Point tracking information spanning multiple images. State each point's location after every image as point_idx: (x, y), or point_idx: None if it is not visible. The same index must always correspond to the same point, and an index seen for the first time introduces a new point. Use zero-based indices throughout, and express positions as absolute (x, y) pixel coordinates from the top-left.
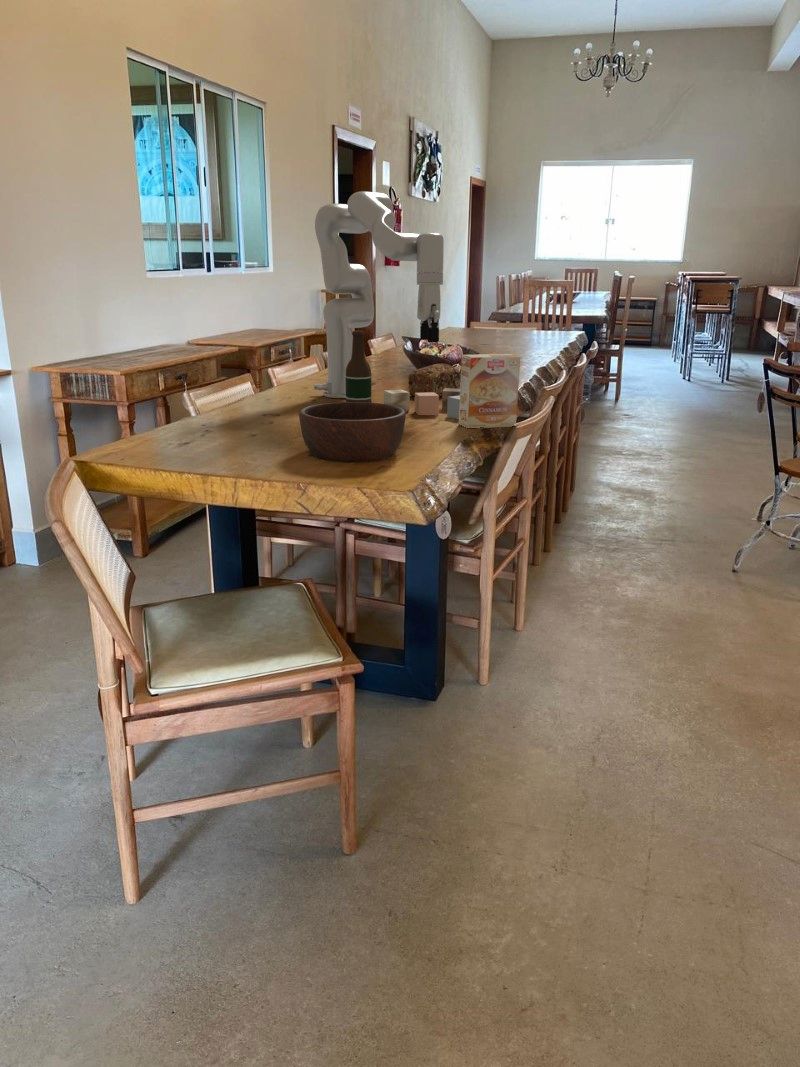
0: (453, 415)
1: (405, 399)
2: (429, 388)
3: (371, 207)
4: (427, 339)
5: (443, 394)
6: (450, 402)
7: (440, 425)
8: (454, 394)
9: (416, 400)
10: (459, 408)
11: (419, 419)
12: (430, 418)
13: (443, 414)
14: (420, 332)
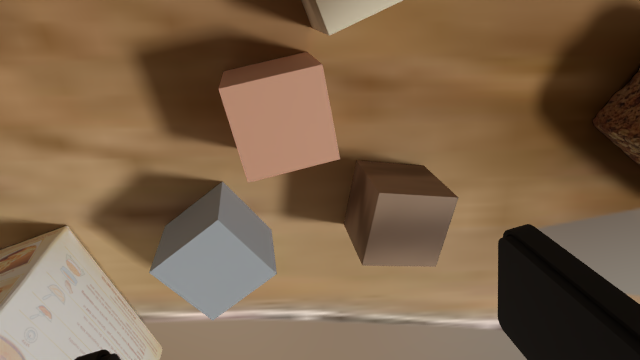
0: (192, 208)
1: (313, 9)
2: (632, 120)
3: None
4: (506, 293)
5: (374, 190)
6: (203, 220)
7: (24, 162)
8: (364, 232)
9: (276, 69)
10: (34, 262)
11: (136, 75)
12: (172, 121)
13: None
14: (582, 279)
